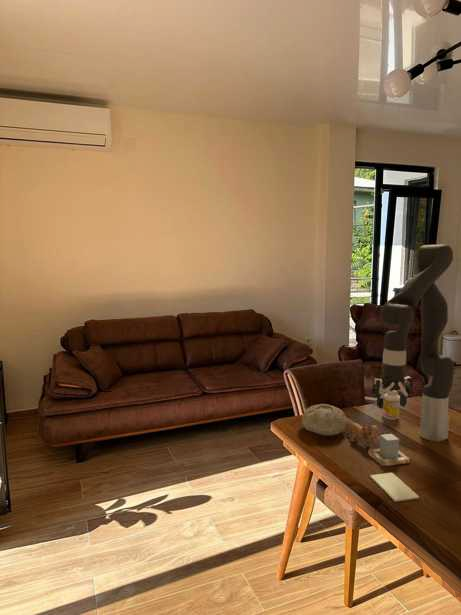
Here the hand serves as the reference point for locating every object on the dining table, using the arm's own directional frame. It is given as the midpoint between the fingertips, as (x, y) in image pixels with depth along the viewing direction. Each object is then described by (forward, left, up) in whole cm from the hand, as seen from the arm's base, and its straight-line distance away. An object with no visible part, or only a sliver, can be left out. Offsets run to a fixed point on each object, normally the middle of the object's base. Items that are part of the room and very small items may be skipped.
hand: (391, 406), depth 151 cm
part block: (0, 0, -19) cm, 19 cm away
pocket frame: (0, 0, -19) cm, 19 cm away
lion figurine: (+3, -12, -19) cm, 23 cm away
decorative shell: (+13, -26, -19) cm, 35 cm away
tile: (+9, +17, -19) cm, 27 cm away
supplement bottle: (-22, -33, -19) cm, 44 cm away
